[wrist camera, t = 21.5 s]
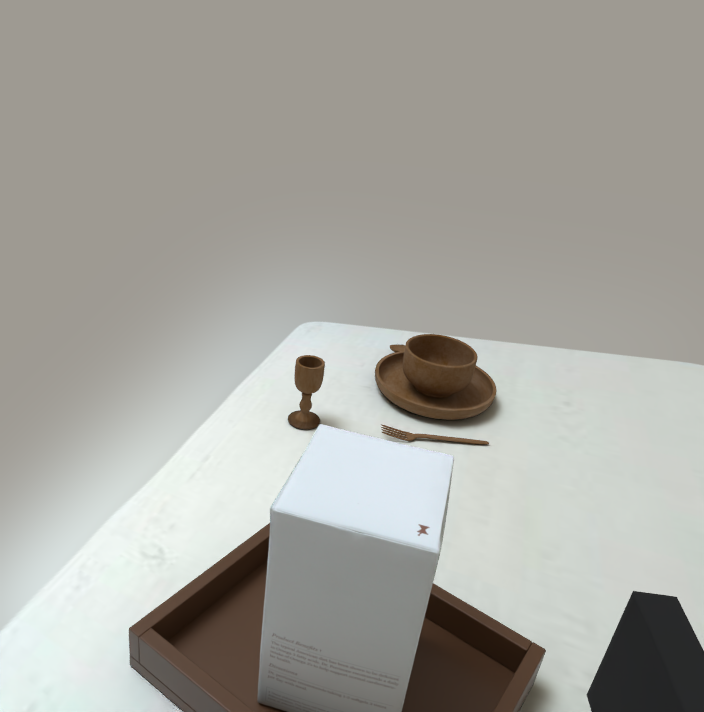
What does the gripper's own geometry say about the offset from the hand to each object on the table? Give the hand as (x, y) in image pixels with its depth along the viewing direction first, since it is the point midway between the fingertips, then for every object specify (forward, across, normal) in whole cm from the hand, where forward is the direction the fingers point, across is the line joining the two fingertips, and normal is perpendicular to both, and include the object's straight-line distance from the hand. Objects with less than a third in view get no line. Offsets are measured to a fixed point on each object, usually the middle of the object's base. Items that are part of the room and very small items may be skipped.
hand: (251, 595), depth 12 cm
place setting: (+48, +6, -23) cm, 54 cm away
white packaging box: (+16, +3, -22) cm, 27 cm away
